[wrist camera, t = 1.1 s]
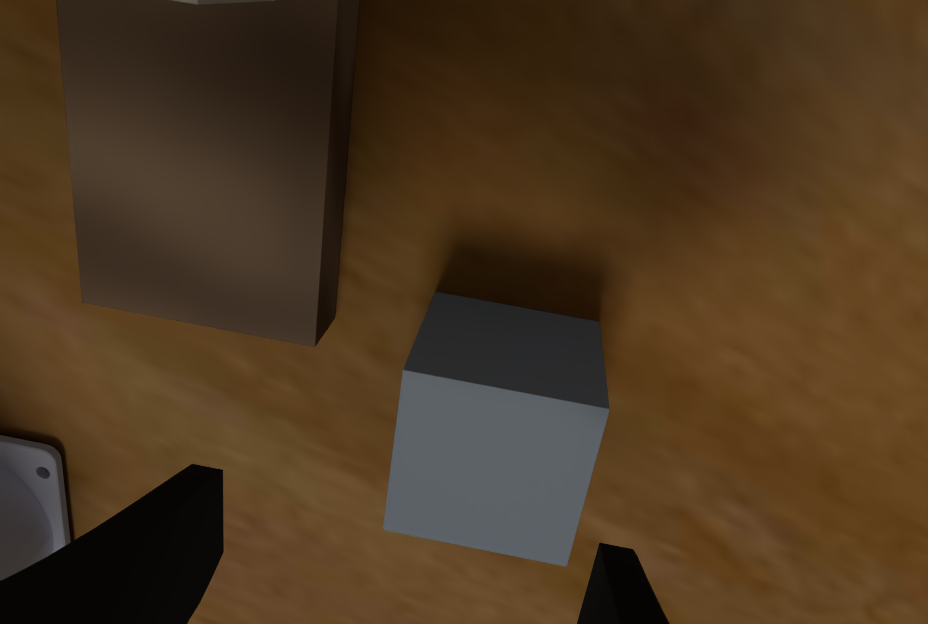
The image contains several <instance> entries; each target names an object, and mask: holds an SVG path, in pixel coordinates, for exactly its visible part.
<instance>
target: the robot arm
mask: <svg viewBox="0 0 928 624" xmlns="http://www.w3.org/2000/svg"><path fill="white" fill-rule="evenodd" d="M45 468H46V469H47V470H48V471H47V470H46V469H45ZM223 552H224V551H223V470H221V469H216V468H211V467H205V466H200V465H195V464H191V465H190V466H188V467H187V468H185V469H184V470H182V471H181V472H179V473H178V474H176V475H174V476H173V477H171V478H170V479H168V480H167V481H165V482H164V483H163V484H161V485H160V486H158V487H157V488H155V489H154V490H152V491H151V492H149V493H148V494H146V495H145V496H143V497H142V498H140V499H139V500H137V501H136V502H134V503H133V504H131V505H130V506H128V507H127V508H125V509H124V510H122V511H121V512H119V513H117V514H116V515H114V516H113V517H111V518H110V519H108V520H107V521H105V522H104V523H102V524H100V525H99V526H97V527H96V528H94V529H93V530H91V531H89V532H88V533H86V534H84V535H83V536H81V537H79V538H78V539H76V540H74V541H72V542H71V541H70V532H69V523H68V514H67V505H66V496H65V487H64V478H63V469H62V460H61V456H60V453H59V452H58V451H57V449H55V448H54V447H52V446H50V445H47V444H42V443H37V442H32V441H27V440H22V439H17V438H12V437H8V436H3V435H0V624H187V623H188V621H189V619H190V618H191V616H192V615H193V613H194V611H195V610H196V608H197V606H198V605H199V603H200V601H201V599H202V597H203V595H204V593H205V591H206V589H207V587H208V585H209V583H210V581H211V578H212V576H213V574H214V572H215V570H216V567H217V565H218V563H219V561H220V559H221V556H222V554H223ZM577 624H669V622H668V620H667V618H666V616H665V614H664V612H663V610H662V608H661V606H660V604H659V602H658V600H657V598H656V596H655V594H654V592H653V590H652V587H651V585H650V583H649V581H648V579H647V577H646V575H645V572H644V570H643V568H642V566H641V563H640V561H639V559H638V556H637V555H636V553H635V552H634V550H633V549H629V548H624V547H619V546H614V545H608V544H603V543H599V547H598V550H597V554H596V558H595V561H594V565H593V568H592V572H591V575H590V579H589V583H588V586H587V590H586V593H585V597H584V600H583V604H582V608H581V611H580V615H579V618H578V622H577Z"/></svg>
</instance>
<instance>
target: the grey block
mask: <svg viewBox="0 0 928 624" xmlns="http://www.w3.org/2000/svg"><path fill="white" fill-rule="evenodd" d="M173 1H179V2H185V3H191V4H197V5H200V4H222V3H244V2H266V1H275V0H173Z"/></svg>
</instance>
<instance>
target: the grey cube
mask: <svg viewBox="0 0 928 624" xmlns="http://www.w3.org/2000/svg"><path fill="white" fill-rule="evenodd" d="M609 410H610V408H609V400H608V391H607V382H606V374H605V365H604V356H603V348H602V339H601V330H600V322H598V321H592V320H587V319H581V318H576V317H571V316H565V315H560V314H554V313H549V312H544V311H538V310H533V309H527V308H522V307H516V306H511V305H506V304H500V303H495V302H489V301H484V300H479V299H473V298H468V297H462V296H457V295H451V294H446V293H441V292H435V293H434V296H433V298H432V301H431V303H430V306H429V308H428V310H427V313H426V315H425V318H424V320H423V323H422V325H421V327H420V330H419V332H418V335H417V337H416V340H415V342H414V344H413V347H412V349H411V352H410V354H409V357H408V359H407V361H406V364H405V366H404V369H403V374H402V382H401V390H400V398H399V406H398V414H397V422H396V430H395V438H394V446H393V454H392V462H391V469H390V477H389V485H388V493H387V501H386V509H385V517H384V525H383V530H387V531H392V532H397V533H402V534H406V535H411V536H416V537H421V538H426V539H431V540H436V541H441V542H446V543H451V544H456V545H461V546H466V547H471V548H476V549H481V550H486V551H491V552H496V553H501V554H506V555H511V556H516V557H521V558H526V559H531V560H536V561H541V562H546V563H551V564H556V565H560V566H565V567H567V563H568V559H569V556H570V552H571V549H572V545H573V541H574V538H575V534H576V530H577V527H578V523H579V519H580V516H581V512H582V508H583V505H584V501H585V497H586V494H587V490H588V486H589V483H590V479H591V475H592V472H593V468H594V464H595V461H596V457H597V453H598V450H599V446H600V442H601V439H602V435H603V431H604V428H605V424H606V421H607V417H608V413H609Z"/></svg>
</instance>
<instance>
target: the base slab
mask: <svg viewBox="0 0 928 624" xmlns="http://www.w3.org/2000/svg"><path fill="white" fill-rule="evenodd" d="M359 3H360V0H275V1H266V2H244V3H222V4H200V5H197V4H191V3H185V2H179V1H173V0H56V5H57V16H58V28H59V40H60V51H61V63H62V74H63V86H64V97H65V109H66V121H67V132H68V144H69V155H70V167H71V179H72V190H73V202H74V213H75V225H76V236H77V248H78V260H79V271H80V283H81V294H82V303H87V304H93V305H98V306H103V307H108V308H114V309H119V310H124V311H129V312H134V313H140V314H145V315H150V316H155V317H161V318H166V319H171V320H176V321H182V322H187V323H192V324H197V325H202V326H208V327H213V328H218V329H223V330H229V331H234V332H239V333H244V334H249V335H255V336H260V337H265V338H270V339H276V340H281V341H286V342H291V343H297V344H302V345H307V346H312V347H315V346H316V345H317V343H318V342H319V340H320V339H321V338H322V336H323V335H324V333H325V332H326V330H327V329H328V327H329V326H330V324H331V323H332V322H333V320H334V319H335V310H336V297H337V284H338V271H339V258H340V246H341V233H342V220H343V207H344V195H345V182H346V169H347V156H348V143H349V131H350V118H351V105H352V92H353V80H354V67H355V54H356V41H357V28H358V16H359Z"/></svg>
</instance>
